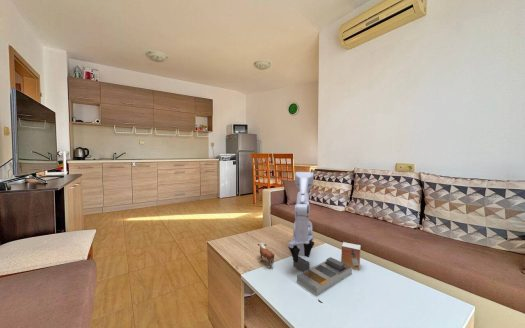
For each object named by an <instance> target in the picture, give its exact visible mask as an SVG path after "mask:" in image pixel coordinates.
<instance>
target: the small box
mask: <svg viewBox="0 0 525 328" xmlns="http://www.w3.org/2000/svg"><path fill="white" fill-rule="evenodd" d="M361 247H362V246H361V244H355V243H349V242H345V241H343V242H342V245H341V254H340V257H341V258H340V262H342V263H344V264H346V265H349V266H351V267H352V270H356V271H360V267H361Z"/></svg>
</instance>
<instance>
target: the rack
mask: <svg viewBox="0 0 525 328" xmlns="http://www.w3.org/2000/svg"><path fill="white" fill-rule="evenodd" d="M332 258H333V257H332ZM333 259H335V258H333ZM352 271H353V269H352V267H351V266H349V265H346V264H344V270H343V271H341V272H340V271H338V270H336V269H334V268H332V267H330V266H329V265H327V264H326V260H325V261H324V260H323V262H320V263H318V264H317V265H314V266H313V267H309V269H308V270H306V271H304V272H302V271H301V272H300V273H298V274H296V283H297V284H298V285H300V286H301V287H303V288H305V289H306V290H307V291H309V292H310V293H312V294H313V295H314V296H316V297H318V296H319V295H320V294H322V293H324V292H326V291H327V290H328V289H330V288H332V287H333V286H335V285H336V284H338V283H340V282H341V281H342V280H344V279H346V278H347V277H349V276H351V275H352Z"/></svg>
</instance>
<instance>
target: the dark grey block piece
mask: <svg viewBox="0 0 525 328" xmlns="http://www.w3.org/2000/svg"><path fill="white" fill-rule="evenodd" d="M292 261H293V260H292ZM292 264H293V268H295V269H297V270H298V271H301V273H302V272H304V271H306V270H308V269H310V261H308V260H307V259H305V258H303V257H302V256H301V257H300V255H299V256H298V262H297V263H296V262H294V261H293V262H292Z"/></svg>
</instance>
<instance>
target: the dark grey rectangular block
mask: <svg viewBox="0 0 525 328" xmlns="http://www.w3.org/2000/svg"><path fill="white" fill-rule="evenodd" d="M325 261H326V264H327V265H329V266H330V267H332V268H334V269H336V270H338V271H340V272H341V271H343V270H344V263H342V262H341V260H338V259H336V258H334V259H333V257H328V258H326V260H325Z"/></svg>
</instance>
